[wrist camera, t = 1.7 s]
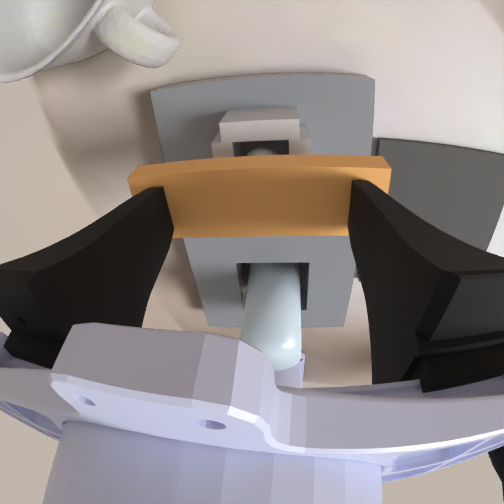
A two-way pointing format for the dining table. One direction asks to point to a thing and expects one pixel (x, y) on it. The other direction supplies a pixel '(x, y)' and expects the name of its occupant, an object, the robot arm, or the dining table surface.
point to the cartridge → (274, 312)
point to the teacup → (80, 34)
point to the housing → (283, 143)
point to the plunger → (261, 193)
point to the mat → (447, 186)
